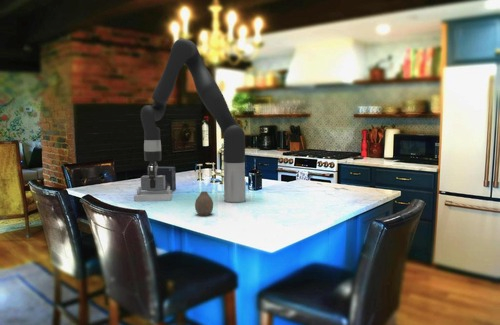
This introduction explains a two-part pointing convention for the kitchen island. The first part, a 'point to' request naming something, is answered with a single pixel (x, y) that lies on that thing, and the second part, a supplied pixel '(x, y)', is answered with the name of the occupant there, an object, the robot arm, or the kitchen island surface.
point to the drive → (158, 182)
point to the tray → (153, 195)
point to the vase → (204, 204)
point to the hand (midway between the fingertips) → (153, 186)
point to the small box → (167, 177)
